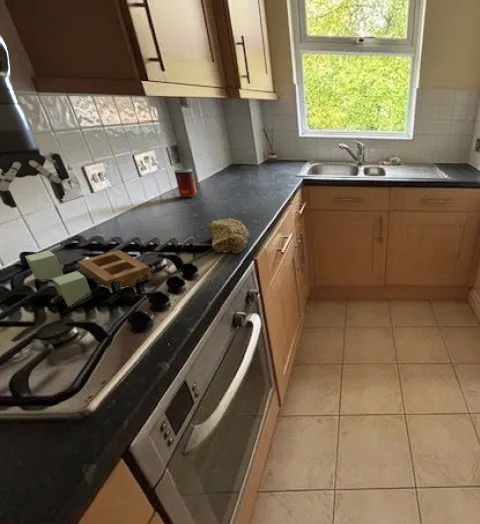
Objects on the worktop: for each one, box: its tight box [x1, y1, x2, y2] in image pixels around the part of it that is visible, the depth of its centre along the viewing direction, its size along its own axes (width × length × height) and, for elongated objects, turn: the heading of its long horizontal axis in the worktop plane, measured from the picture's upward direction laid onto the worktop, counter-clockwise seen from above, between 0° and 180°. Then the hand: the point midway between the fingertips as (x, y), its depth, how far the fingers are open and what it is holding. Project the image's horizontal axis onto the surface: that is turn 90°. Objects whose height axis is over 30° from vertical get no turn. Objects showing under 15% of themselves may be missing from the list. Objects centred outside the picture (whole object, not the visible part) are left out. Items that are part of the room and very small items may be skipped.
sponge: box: [207, 218, 250, 254], centre depth 103 cm, size 13×8×20 cm
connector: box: [77, 249, 153, 288], centre depth 83 cm, size 9×16×4 cm, turn 56°
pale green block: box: [52, 270, 92, 308], centre depth 72 cm, size 4×4×6 cm
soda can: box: [174, 167, 198, 198], centre depth 148 cm, size 7×7×12 cm
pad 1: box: [24, 250, 64, 281], centre depth 81 cm, size 4×4×6 cm
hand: (37, 202), depth 76 cm, fingers open, 8 cm apart
